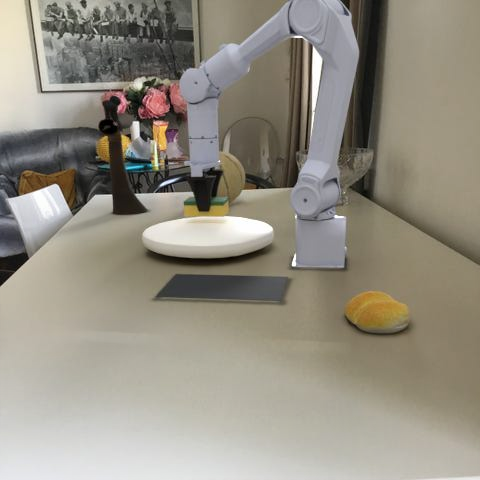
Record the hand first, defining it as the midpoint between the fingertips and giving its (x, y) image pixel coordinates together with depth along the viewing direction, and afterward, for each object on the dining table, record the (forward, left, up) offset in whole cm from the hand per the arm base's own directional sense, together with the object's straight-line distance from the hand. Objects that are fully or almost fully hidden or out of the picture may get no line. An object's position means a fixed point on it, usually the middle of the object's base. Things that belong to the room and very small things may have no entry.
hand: (207, 208), depth 114 cm
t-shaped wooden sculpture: (+31, -38, -9) cm, 50 cm away
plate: (0, 0, -9) cm, 9 cm away
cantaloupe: (+8, -50, -9) cm, 51 cm away
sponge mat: (-8, +24, -9) cm, 27 cm away
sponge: (0, 0, -1) cm, 1 cm away
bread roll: (-32, +36, -9) cm, 49 cm away
